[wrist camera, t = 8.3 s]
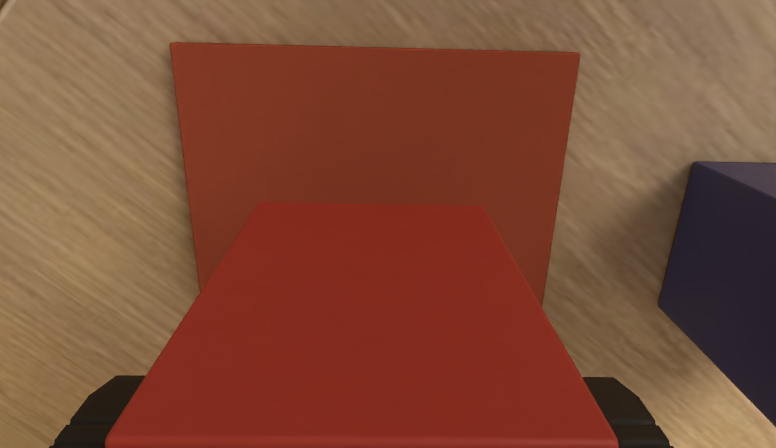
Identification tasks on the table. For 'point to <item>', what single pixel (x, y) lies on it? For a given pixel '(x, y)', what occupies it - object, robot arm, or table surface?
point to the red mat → (374, 135)
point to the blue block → (729, 274)
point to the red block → (364, 342)
